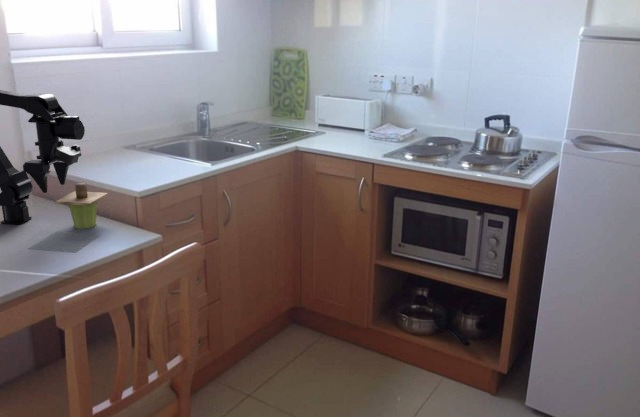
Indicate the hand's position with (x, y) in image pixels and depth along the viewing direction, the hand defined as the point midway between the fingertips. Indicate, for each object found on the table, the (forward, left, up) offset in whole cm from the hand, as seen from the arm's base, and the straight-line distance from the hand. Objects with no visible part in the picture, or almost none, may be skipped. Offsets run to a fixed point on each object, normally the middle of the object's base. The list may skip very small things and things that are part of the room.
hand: (54, 188), depth 175 cm
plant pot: (+9, 0, -12) cm, 15 cm away
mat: (+11, -14, -12) cm, 21 cm away
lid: (+9, 0, -3) cm, 9 cm away
